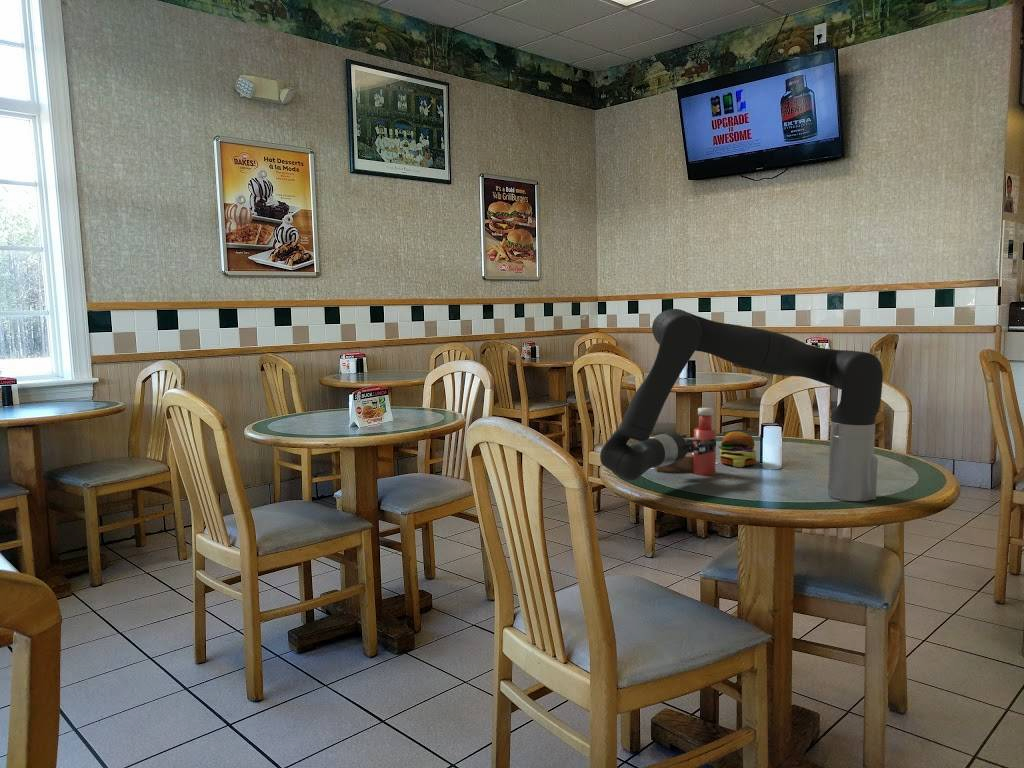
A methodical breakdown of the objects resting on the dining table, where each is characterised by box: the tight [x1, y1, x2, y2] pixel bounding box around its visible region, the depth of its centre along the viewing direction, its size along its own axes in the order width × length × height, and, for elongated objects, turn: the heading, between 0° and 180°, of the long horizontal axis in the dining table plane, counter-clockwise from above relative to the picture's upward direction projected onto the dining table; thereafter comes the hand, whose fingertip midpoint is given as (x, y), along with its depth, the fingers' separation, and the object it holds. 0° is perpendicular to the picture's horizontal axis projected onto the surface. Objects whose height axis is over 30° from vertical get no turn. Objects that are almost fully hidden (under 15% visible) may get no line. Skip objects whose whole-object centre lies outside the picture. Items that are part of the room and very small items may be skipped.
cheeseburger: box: [718, 431, 757, 468], centre depth 209 cm, size 10×11×10 cm
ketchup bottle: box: [692, 407, 717, 476], centre depth 196 cm, size 6×6×17 cm
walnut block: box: [653, 453, 694, 473], centre depth 204 cm, size 10×10×4 cm
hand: (699, 440), depth 194 cm, fingers open, 8 cm apart
